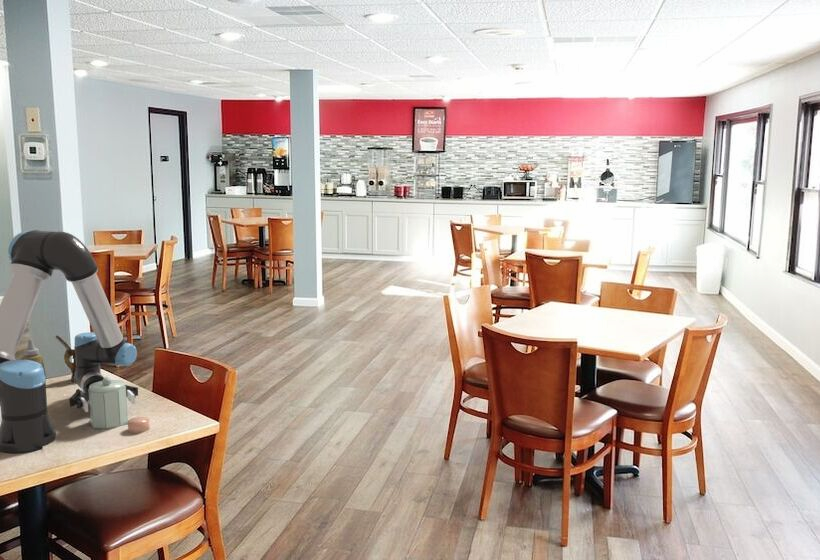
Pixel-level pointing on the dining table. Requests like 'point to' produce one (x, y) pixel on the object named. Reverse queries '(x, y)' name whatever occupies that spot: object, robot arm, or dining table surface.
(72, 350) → the wooden mug
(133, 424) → the light brown short cylinder
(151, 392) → the dining table surface
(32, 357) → the squeeze bottle
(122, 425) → the mat
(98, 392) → the lidded canister jar
